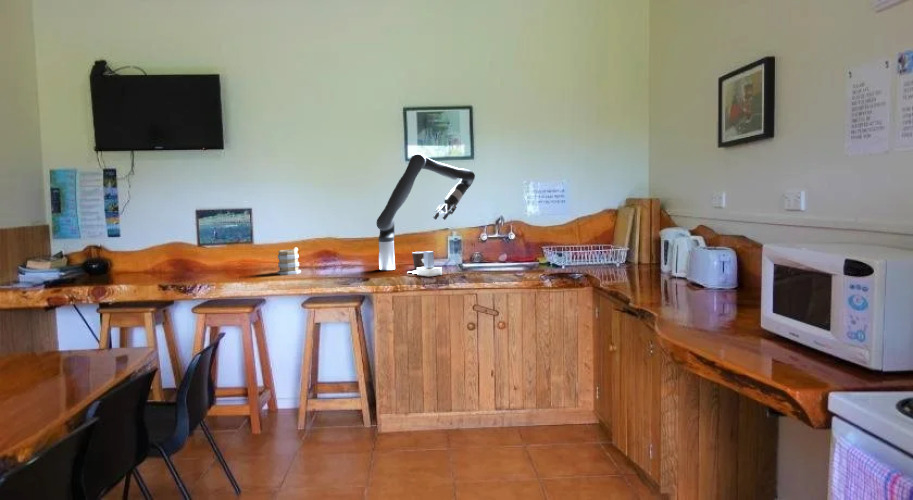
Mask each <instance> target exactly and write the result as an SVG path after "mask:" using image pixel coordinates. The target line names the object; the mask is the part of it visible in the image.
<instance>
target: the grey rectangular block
mask: <svg viewBox="0 0 913 500" xmlns="http://www.w3.org/2000/svg"><path fill="white" fill-rule="evenodd" d="M423 252H424V268H427V269H429V268H435V259H434V258H435V255H434V254H435V253H434V251H430V250H428V251H423Z"/></svg>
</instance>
